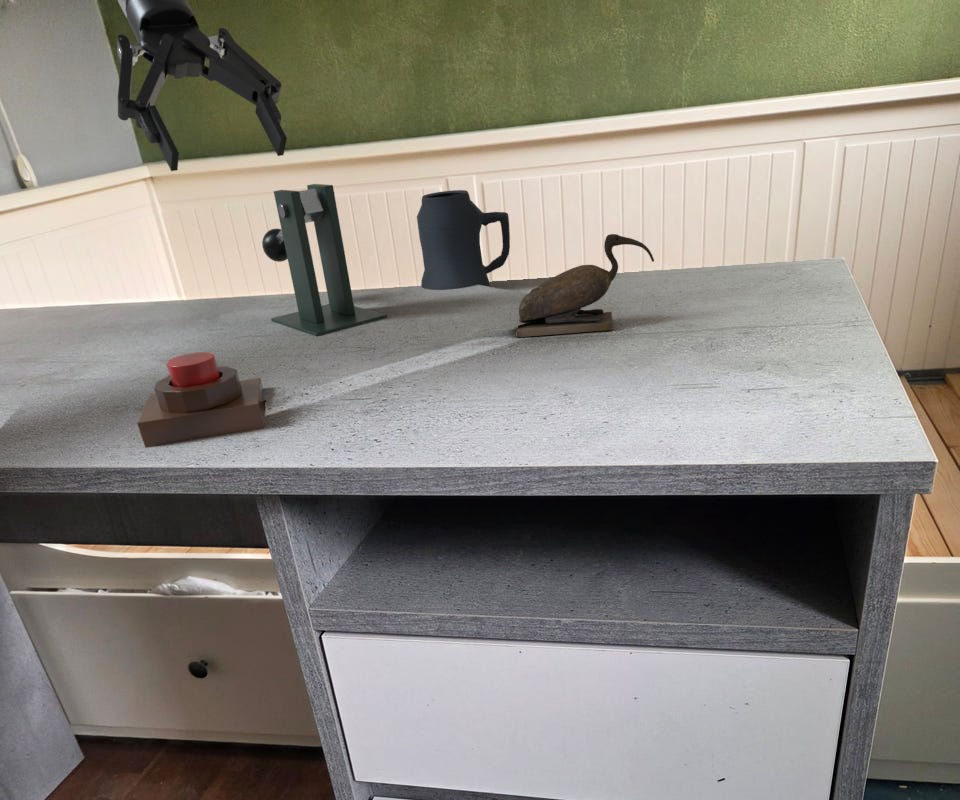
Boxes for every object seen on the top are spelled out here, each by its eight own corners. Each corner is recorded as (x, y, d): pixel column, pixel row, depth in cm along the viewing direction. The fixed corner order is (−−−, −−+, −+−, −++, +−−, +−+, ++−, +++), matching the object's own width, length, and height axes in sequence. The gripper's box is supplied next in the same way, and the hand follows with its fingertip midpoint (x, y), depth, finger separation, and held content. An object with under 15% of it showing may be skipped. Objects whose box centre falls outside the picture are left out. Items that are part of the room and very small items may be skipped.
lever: (265, 268, 105) (254, 238, 105) (292, 262, 107) (281, 233, 106) (301, 221, 93) (289, 186, 92) (331, 215, 95) (319, 181, 94)
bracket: (273, 331, 104) (242, 193, 96) (340, 314, 108) (315, 180, 100) (319, 347, 96) (288, 197, 87) (389, 328, 100) (366, 182, 91)
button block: (145, 448, 74) (129, 401, 71) (156, 418, 80) (143, 374, 78) (264, 428, 75) (252, 382, 72) (266, 400, 81) (255, 357, 79)
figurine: (652, 316, 92) (653, 226, 87) (654, 327, 88) (655, 234, 83) (519, 326, 94) (513, 239, 89) (516, 338, 90) (509, 247, 86)
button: (171, 393, 74) (163, 369, 72) (176, 380, 77) (169, 356, 76) (219, 385, 74) (212, 361, 73) (222, 373, 77) (215, 349, 76)
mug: (416, 302, 109) (402, 203, 103) (424, 286, 116) (412, 192, 110) (512, 294, 107) (504, 192, 101) (514, 278, 115) (507, 182, 109)
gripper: (247, 27, 115) (317, 164, 113) (51, 41, 104) (126, 192, 102) (254, -27, 108) (329, 117, 107) (46, -18, 97) (126, 143, 96)
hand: (230, 154), depth 105 cm, fingers open, 13 cm apart
